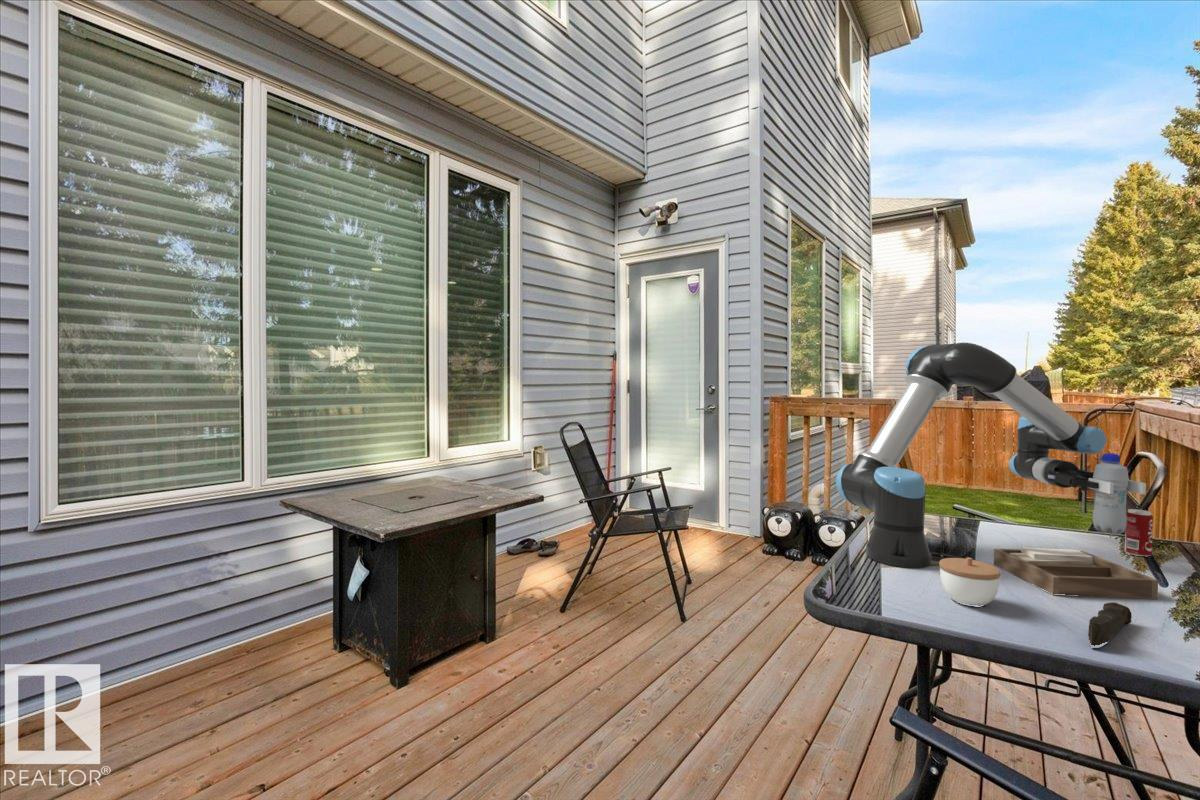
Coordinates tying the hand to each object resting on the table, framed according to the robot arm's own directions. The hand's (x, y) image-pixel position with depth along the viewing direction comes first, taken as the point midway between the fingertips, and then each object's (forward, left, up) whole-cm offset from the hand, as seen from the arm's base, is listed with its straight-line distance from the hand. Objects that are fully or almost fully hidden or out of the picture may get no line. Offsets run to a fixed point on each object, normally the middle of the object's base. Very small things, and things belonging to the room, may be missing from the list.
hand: (1127, 488), depth 132 cm
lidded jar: (-54, +1, -21) cm, 58 cm away
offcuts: (-17, +6, -20) cm, 27 cm away
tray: (-20, +1, -21) cm, 28 cm away
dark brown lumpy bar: (-45, -19, -21) cm, 53 cm away
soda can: (+20, +7, -21) cm, 30 cm away
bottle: (+2, +5, -12) cm, 13 cm away
